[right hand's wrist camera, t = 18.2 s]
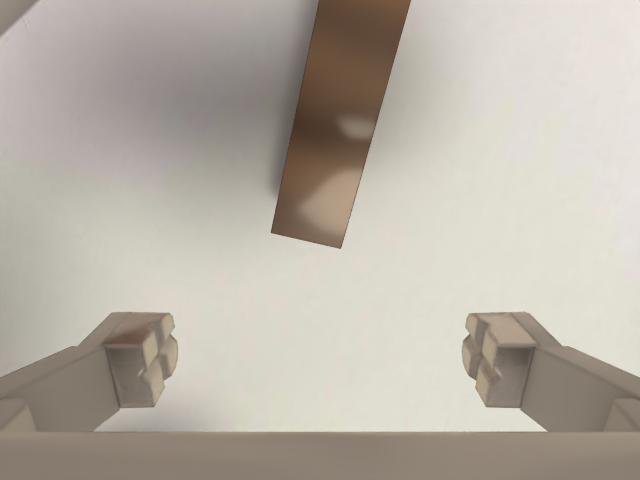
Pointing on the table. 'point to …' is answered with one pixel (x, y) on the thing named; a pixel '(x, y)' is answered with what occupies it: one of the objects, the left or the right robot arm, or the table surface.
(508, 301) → the table surface
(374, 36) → the bar
